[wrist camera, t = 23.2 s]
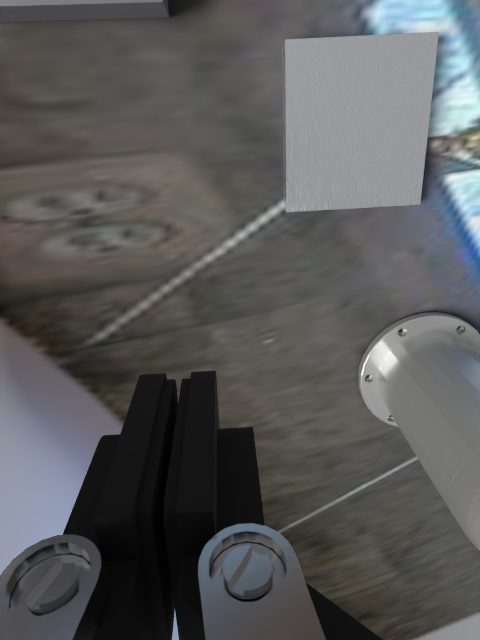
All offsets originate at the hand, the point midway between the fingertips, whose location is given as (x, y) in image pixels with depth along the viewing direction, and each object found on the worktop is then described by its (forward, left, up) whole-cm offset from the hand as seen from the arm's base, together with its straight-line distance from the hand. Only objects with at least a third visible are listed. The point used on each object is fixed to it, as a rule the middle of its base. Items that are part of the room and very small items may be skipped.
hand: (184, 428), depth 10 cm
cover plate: (-6, -6, -29) cm, 30 cm away
